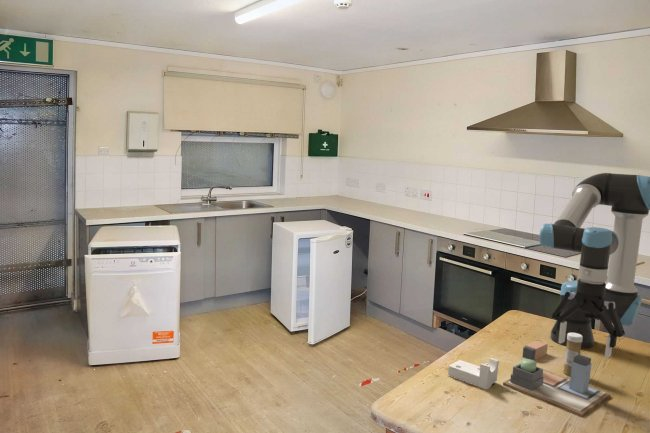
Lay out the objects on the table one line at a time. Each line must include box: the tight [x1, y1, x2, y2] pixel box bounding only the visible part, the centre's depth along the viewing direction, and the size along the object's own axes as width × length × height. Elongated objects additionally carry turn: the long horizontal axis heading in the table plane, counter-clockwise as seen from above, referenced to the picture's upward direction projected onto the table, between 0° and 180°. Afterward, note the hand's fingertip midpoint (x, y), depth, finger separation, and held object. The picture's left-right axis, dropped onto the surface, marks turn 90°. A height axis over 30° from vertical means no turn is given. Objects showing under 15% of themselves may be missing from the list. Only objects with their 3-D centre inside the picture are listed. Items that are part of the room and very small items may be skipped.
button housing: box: [509, 362, 544, 391], centre depth 166 cm, size 7×7×5 cm
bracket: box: [447, 357, 500, 390], centre depth 170 cm, size 13×7×8 cm, turn 48°
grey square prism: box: [569, 353, 592, 394], centre depth 163 cm, size 4×4×10 cm
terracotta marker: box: [522, 340, 549, 361], centre depth 192 cm, size 4×4×10 cm
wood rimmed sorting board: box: [502, 369, 612, 418], centre depth 165 cm, size 20×24×1 cm
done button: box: [520, 358, 538, 373], centre depth 166 cm, size 4×4×3 cm
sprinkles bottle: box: [562, 333, 583, 377], centre depth 177 cm, size 5×5×14 cm
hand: (583, 349), depth 162 cm, fingers open, 13 cm apart
